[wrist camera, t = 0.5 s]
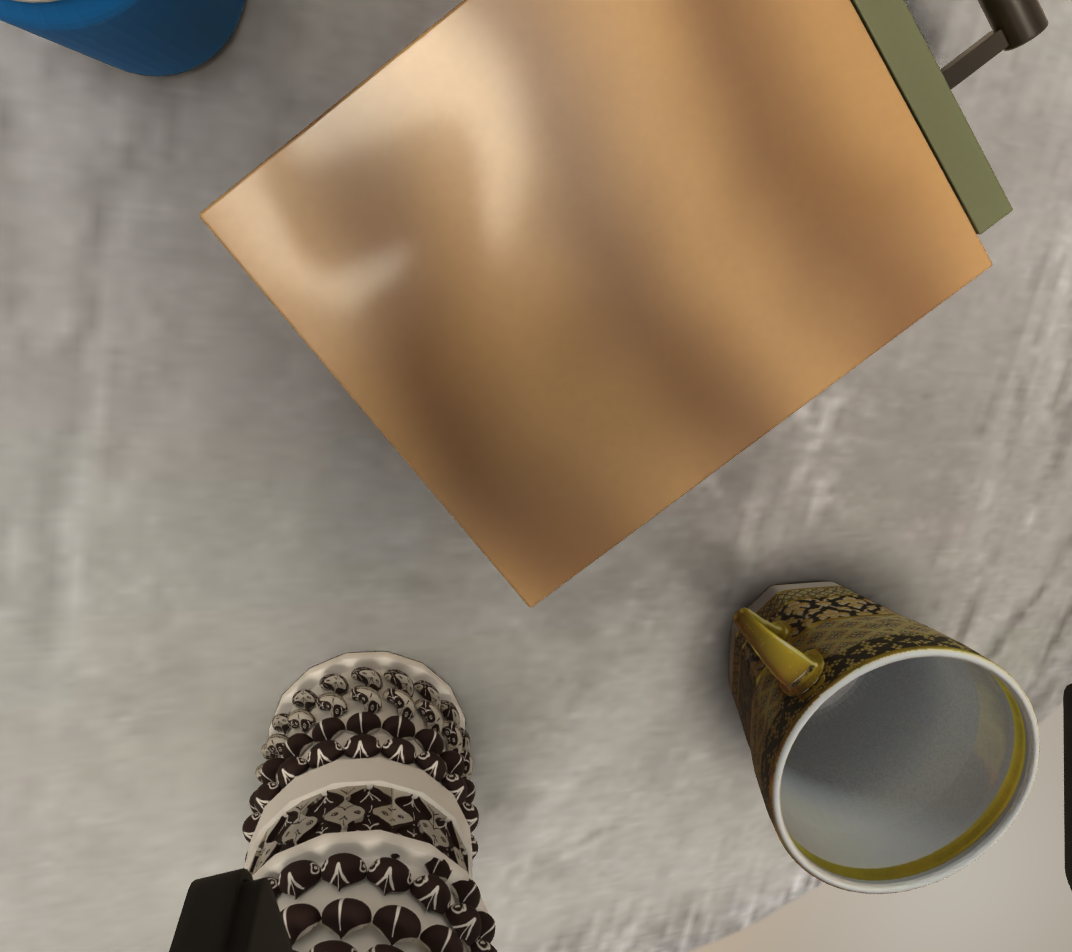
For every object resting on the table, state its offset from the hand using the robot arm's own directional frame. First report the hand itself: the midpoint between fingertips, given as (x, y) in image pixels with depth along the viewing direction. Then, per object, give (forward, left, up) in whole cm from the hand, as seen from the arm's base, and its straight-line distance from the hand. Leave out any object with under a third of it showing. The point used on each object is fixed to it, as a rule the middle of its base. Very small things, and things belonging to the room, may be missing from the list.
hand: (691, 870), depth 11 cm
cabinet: (-7, 0, -28) cm, 29 cm away
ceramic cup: (+5, +16, -28) cm, 33 cm away
